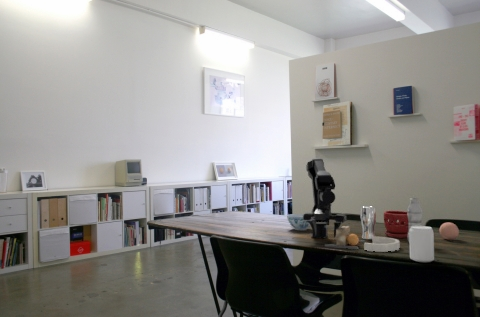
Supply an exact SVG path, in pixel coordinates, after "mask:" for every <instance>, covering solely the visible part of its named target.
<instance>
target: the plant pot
mask: <svg viewBox="0 0 480 317" xmlns="http://www.w3.org/2000/svg"><path fill="white" fill-rule="evenodd" d="M408 223H409V222H408V215H407V211H404V210H386V211H383V224H384V227H385V229H386V230H385V231H384V233H385V235H386V237H388V238H394V239H403V238H404V239H406V238H407V235H408V226H409V224H408Z"/></svg>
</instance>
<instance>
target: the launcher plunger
mask: <svg viewBox="0 0 480 317" xmlns="http://www.w3.org/2000/svg"><path fill="white" fill-rule="evenodd" d="M350 234H351V227H350V225H347V226H345V225H343V226H340V227H339V229H337V230H336V237H335V238H336V241H335V242H336V244H335V245H344V246H347V245H348V244H349V243H348V242H347V237H348V235H350Z"/></svg>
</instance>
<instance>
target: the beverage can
mask: <svg viewBox="0 0 480 317" xmlns="http://www.w3.org/2000/svg"><path fill="white" fill-rule="evenodd" d="M434 236H435V234H434V230H433V228H432V227H431V226H424V225H421V226H411V228H410V230H409V241H408V243H409V258H410V260H412V261H415V262H419V263H431V262H433V261H434V260H435V238H434Z"/></svg>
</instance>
